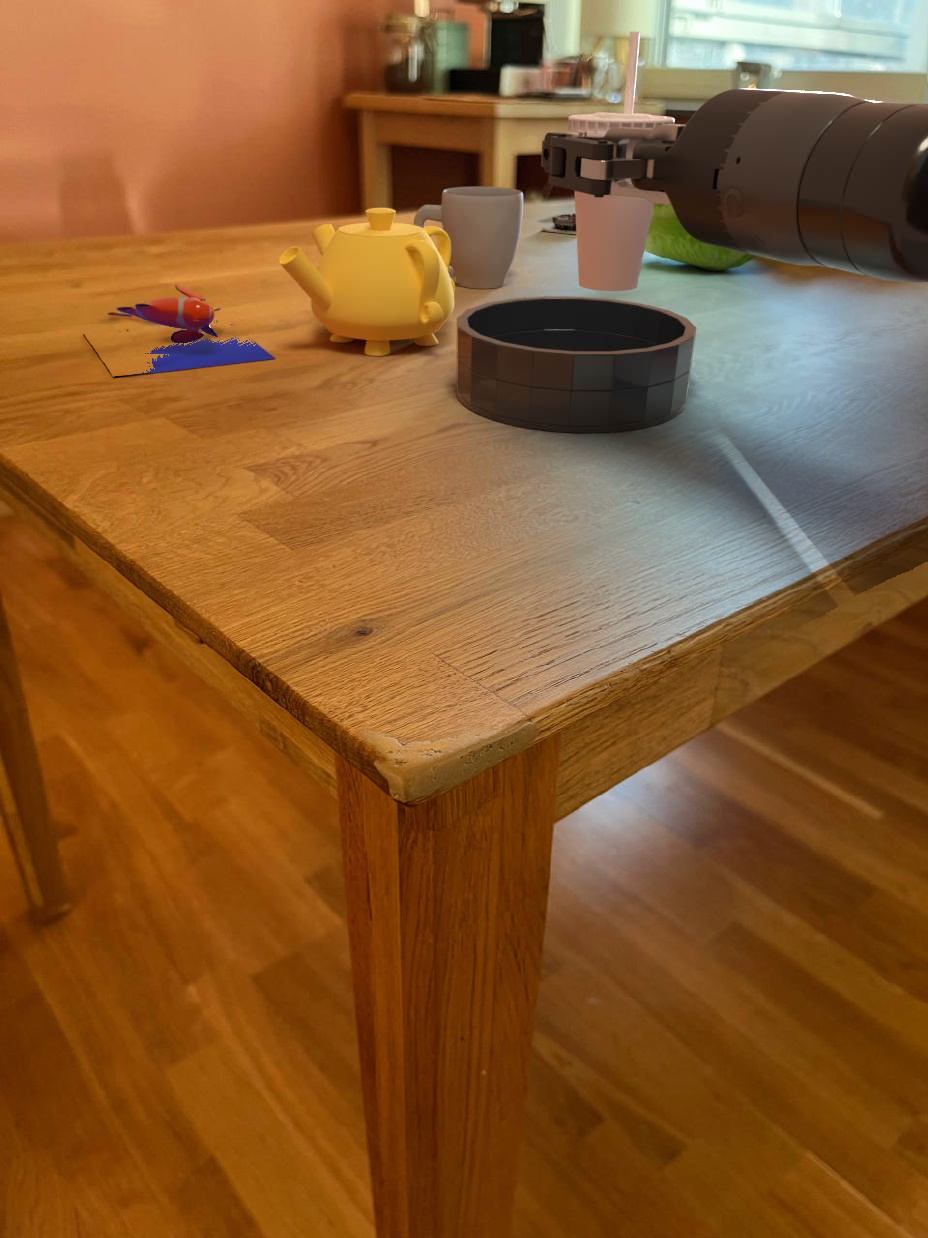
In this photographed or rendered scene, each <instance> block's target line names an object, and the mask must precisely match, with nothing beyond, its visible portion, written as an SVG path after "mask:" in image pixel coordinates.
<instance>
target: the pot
mask: <svg viewBox="0 0 928 1238" xmlns="http://www.w3.org/2000/svg"><path fill="white" fill-rule="evenodd" d="M696 334H697V327H696V326H695V325H694V324H693V322H692V321H690V320H689V319H688V318H687V317H685V316H683V315H680V314H678V313H676V312H674V311H670V310H668V309H664V308H661V307H657V306H652V305H649V304H644V303H640V302H633V301H627V300H619V299H615V298H614V299H613V298H602V297H601V298H600V297H588V296H563V295H562V296H561V295H560V296H559V295H558V296H556V295H554V296H553V295H550V296H549V295H548V296H547V295H545V296H531V297H515V298H507V299H502V300H496V301H491V302H490V301H489V302H486V303H482V304H479V305H477V306H474V307H471V308H468V309H465V310H464V311H463V312H462V313H461V314H460V315H459V316H457V317H456V344H455V345H456V346H455V347H456V353H455V355H456V356H455V358H456V359H455V361H456V362H455V363H456V364H455V365H456V366H455V384H456V385H455V386H456V396H457V399H458V400H459V402H460V403H461V404H462V405H463V406H464V407H466V408H467V409H468V410H470V411H472V412H473V413H474V414H477V415H479V416H482V417H484V418H487V419H488V420H492V421H495V422H499V423H503V424H506V425H510V426H514V427H520V428H524V429H529V430H530V429H531V430H536V431H544V432H545V431H547V432H555V433H569V434H571V433H572V434H602V433H617V432H618V433H619V432H626V431H634V430H639V429H645V428H648V427H652V426H657V425H660V424H662V423H665V422H668V421H670V420H672V419H674V418H676V417H677V416H678V415H680V414H681V413H682V412H683V411H684V409H685V408H686V404H687V401H688V400H687V398H688V394H689V390H690V389H689V388H690V381H691V372H692V367H693V359H694V350H695V343H696Z"/></svg>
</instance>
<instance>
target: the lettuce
mask: <svg viewBox="0 0 928 1238" xmlns="http://www.w3.org/2000/svg"><path fill="white" fill-rule="evenodd" d="M644 252H646V253H649V254H650V255H653V256H656V257H659V258H662V259H668V260H671V261H674V262H678V263H681V264H684V265H688V266H693V267H696V268H699V269H703V270H706V271H727V270H730V269H731V270H732V269H735V268H739V267H741V266H743V265H746V264H747V263H749V262H750V261H752V260H754V259H756V258H758V256H755V255H751V254H746V253H742V252H738V251H734V250H730V249H725V248H721V247H717V246H713V245H709V244H705V243H702V242H700V241H698V240H696V239H695V238H693V237H692V236H691V235H689V234H688V233H687V232H686V230H685V229H684V228H683V227H682V225H681V224H680V222H679V220H678V219H677V216H676V214H675V212H674V209H673V207H672V205H662V204H654V207H653V212H652V217H651V222H650V226H649V231H648V236H647V240H646V245H645V250H644Z"/></svg>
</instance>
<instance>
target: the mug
mask: <svg viewBox="0 0 928 1238" xmlns="http://www.w3.org/2000/svg"><path fill="white" fill-rule="evenodd" d="M523 211H524V194H523V191H522V190H519V189H516V188H511V187H502V186H501V187H500V186H480V185H479V186H478V185H477V186H456V187H449V188H446V189H443V191H442V193H441V204H439V205H438V204H437V205H436V204H424V205H422V206H421V207H420V208H419V209H417V211H416V213H415V215H414V218H413V225H416V226H419V227H422V228H423V227H426V225H425V223H426V222H427V221H433V222H438V223H439V222H440V223H441V225H442V230H444V231H445V232H446V233H447V234H448V236H449V238H450V242H451V256H450V262H449V267H451V268H452V270H453V272H454V276H455V278H456V283H457V285H458V286H460V287H464V288H469V289H477V290H479V289H481V290H482V289H483V290H487V289H496V288H501V287H503V286H504V285H505V283H506V279H507V277H508V273H509V272H510V269H511V268H512V265H513V263H514V260H515V257H516V254H517V250H518V247H519V242H520V237H521V231H522V222H523V215H524V214H523V213H524V212H523Z"/></svg>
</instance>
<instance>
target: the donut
mask: <svg viewBox="0 0 928 1238" xmlns="http://www.w3.org/2000/svg"><path fill="white" fill-rule="evenodd" d="M551 221H552V223H553V225H552V226H547V227H543V228H542V229H541V232H549V233H550V232H551V233H559V234H560V233H561V234H569V235H576V236H577V233H576V213H572V214H571V213H568V214H567V213H565V214H560V215H557V216H552V217H551Z"/></svg>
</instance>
